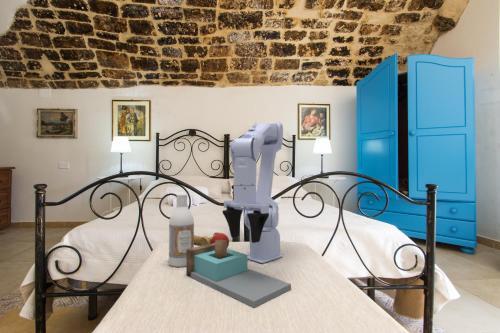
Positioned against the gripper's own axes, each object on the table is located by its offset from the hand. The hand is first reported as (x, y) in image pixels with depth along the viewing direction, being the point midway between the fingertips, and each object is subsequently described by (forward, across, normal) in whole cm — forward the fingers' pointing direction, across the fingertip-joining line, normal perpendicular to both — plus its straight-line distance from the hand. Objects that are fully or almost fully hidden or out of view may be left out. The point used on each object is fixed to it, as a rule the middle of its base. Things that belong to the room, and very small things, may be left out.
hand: (244, 239), depth 69 cm
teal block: (+8, -5, -4) cm, 10 cm away
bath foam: (+10, -20, -6) cm, 23 cm away
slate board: (+10, 0, -4) cm, 10 cm away
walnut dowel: (+8, -5, -4) cm, 10 cm away
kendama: (+10, -29, +10) cm, 32 cm away
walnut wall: (+10, -10, -4) cm, 15 cm away
